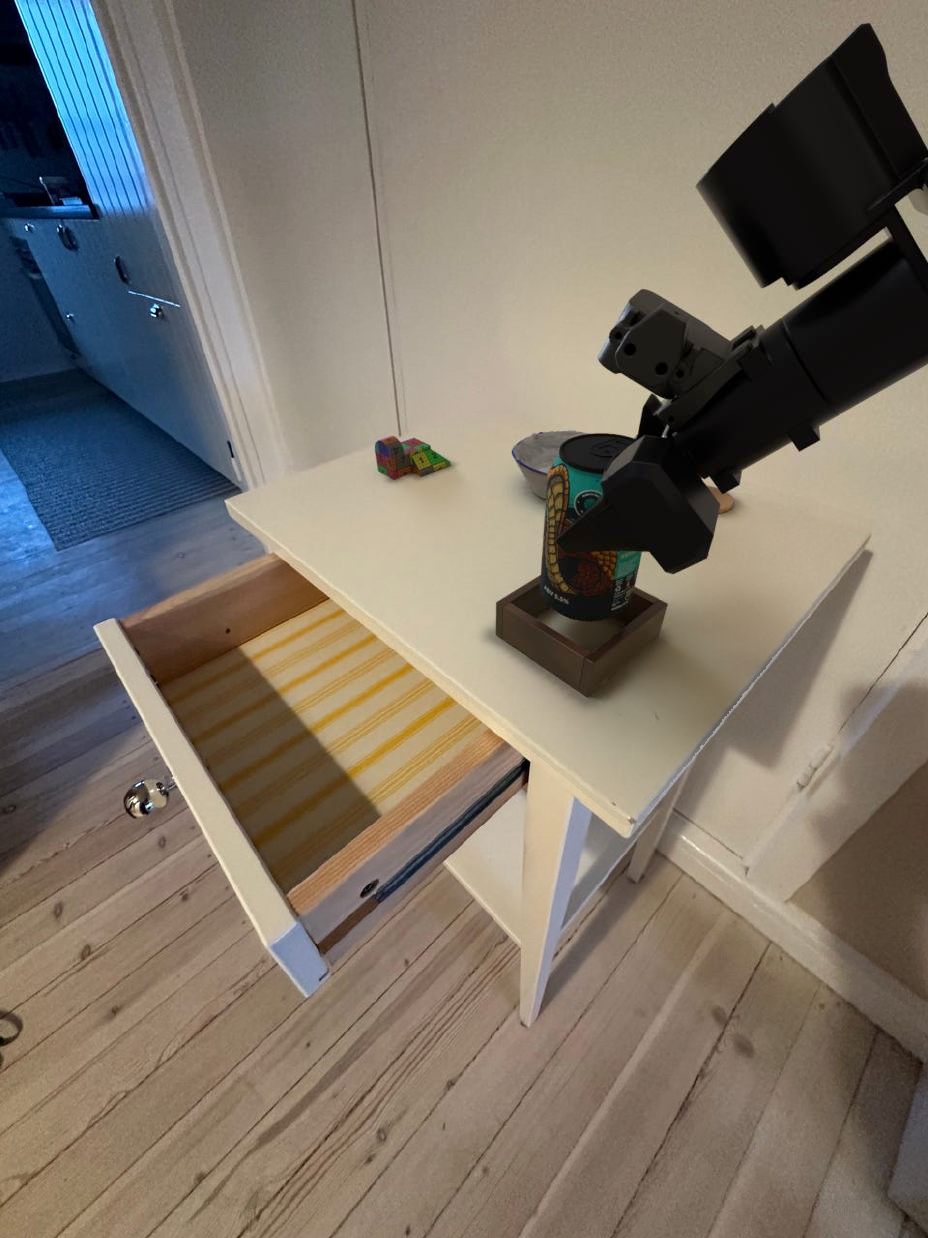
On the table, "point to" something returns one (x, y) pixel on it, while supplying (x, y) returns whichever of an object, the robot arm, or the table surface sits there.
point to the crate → (565, 654)
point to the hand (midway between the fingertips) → (575, 519)
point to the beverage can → (573, 484)
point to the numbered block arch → (407, 457)
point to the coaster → (722, 499)
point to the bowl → (540, 456)
